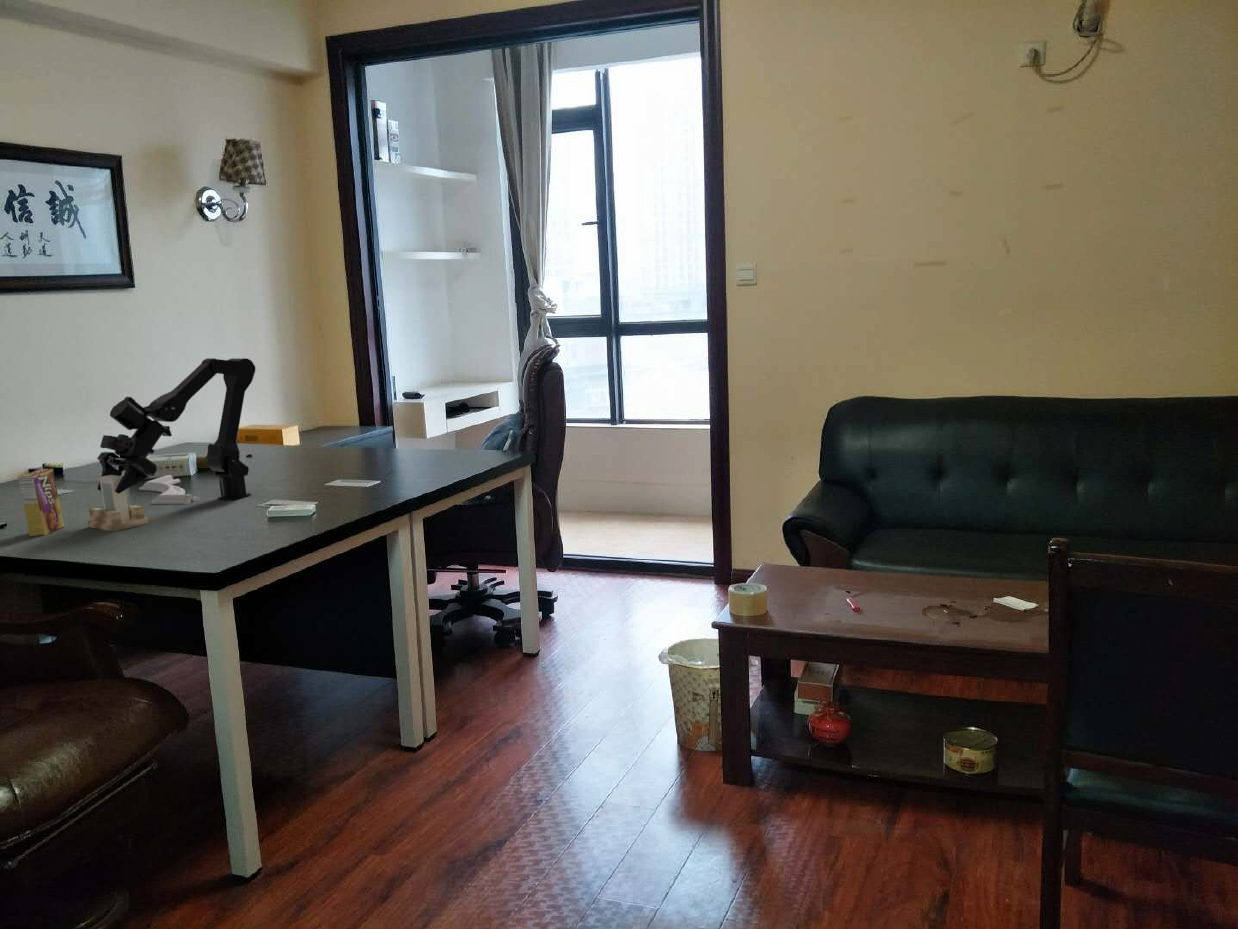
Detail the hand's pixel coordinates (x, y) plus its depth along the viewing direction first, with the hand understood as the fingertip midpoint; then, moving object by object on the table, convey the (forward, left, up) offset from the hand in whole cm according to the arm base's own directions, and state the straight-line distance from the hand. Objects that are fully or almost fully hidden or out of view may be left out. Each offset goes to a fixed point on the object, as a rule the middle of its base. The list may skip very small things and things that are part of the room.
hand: (107, 491), depth 252 cm
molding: (+19, -37, -10) cm, 43 cm away
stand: (0, -1, -9) cm, 9 cm away
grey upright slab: (0, -1, -8) cm, 8 cm away
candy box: (+14, +9, -9) cm, 18 cm away
